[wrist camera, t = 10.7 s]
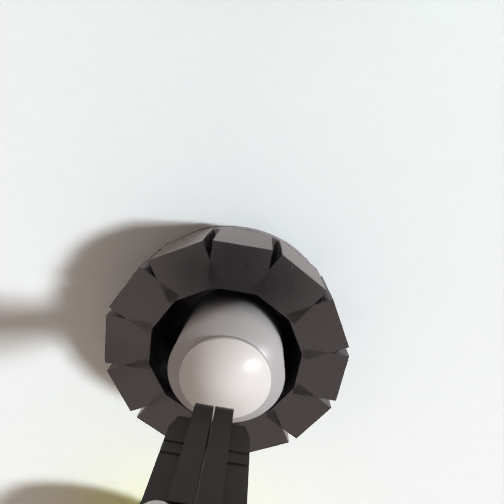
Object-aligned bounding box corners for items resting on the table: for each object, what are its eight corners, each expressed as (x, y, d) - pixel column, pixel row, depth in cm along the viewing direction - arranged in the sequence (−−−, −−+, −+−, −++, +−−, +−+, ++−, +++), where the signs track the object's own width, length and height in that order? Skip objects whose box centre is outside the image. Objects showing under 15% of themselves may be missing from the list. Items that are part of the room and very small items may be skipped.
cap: (191, 280, 18) (167, 319, 13) (287, 293, 18) (294, 336, 13) (185, 362, 19) (162, 421, 15) (273, 374, 19) (276, 436, 15)
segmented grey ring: (141, 209, 17) (109, 222, 14) (352, 245, 17) (375, 267, 14) (130, 385, 21) (102, 433, 17) (306, 414, 21) (315, 468, 17)
